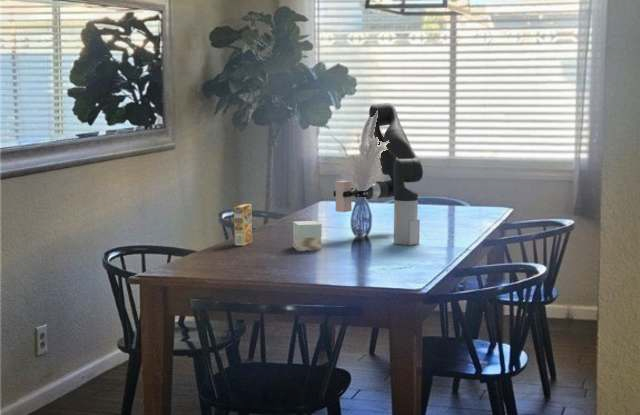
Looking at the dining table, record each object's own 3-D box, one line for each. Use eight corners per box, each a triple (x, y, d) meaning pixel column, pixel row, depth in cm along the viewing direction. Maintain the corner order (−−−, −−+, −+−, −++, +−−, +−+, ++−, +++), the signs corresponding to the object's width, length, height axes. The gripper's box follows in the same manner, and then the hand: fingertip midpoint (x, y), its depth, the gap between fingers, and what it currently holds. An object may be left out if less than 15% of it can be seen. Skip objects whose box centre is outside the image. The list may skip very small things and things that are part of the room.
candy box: (244, 246, 369) (243, 206, 367) (234, 245, 370) (233, 206, 368) (252, 242, 377) (252, 204, 375) (242, 241, 378) (242, 203, 376)
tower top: (316, 233, 368) (316, 220, 368) (321, 237, 360) (321, 224, 359) (293, 234, 366) (293, 221, 366) (298, 238, 358) (298, 225, 357)
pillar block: (351, 211, 382) (351, 181, 381) (343, 212, 379) (343, 182, 378) (343, 210, 386) (343, 180, 384) (335, 211, 382) (335, 181, 381)
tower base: (316, 246, 369) (316, 233, 368) (320, 250, 360) (320, 237, 359) (293, 247, 367) (293, 234, 366) (297, 251, 358) (297, 238, 358)
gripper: (354, 181, 396) (325, 183, 384) (380, 182, 386) (352, 185, 374) (354, 199, 397) (325, 202, 385) (380, 201, 387) (352, 204, 375)
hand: (338, 194), depth 380 cm, fingers closed on pillar block, 4 cm apart
